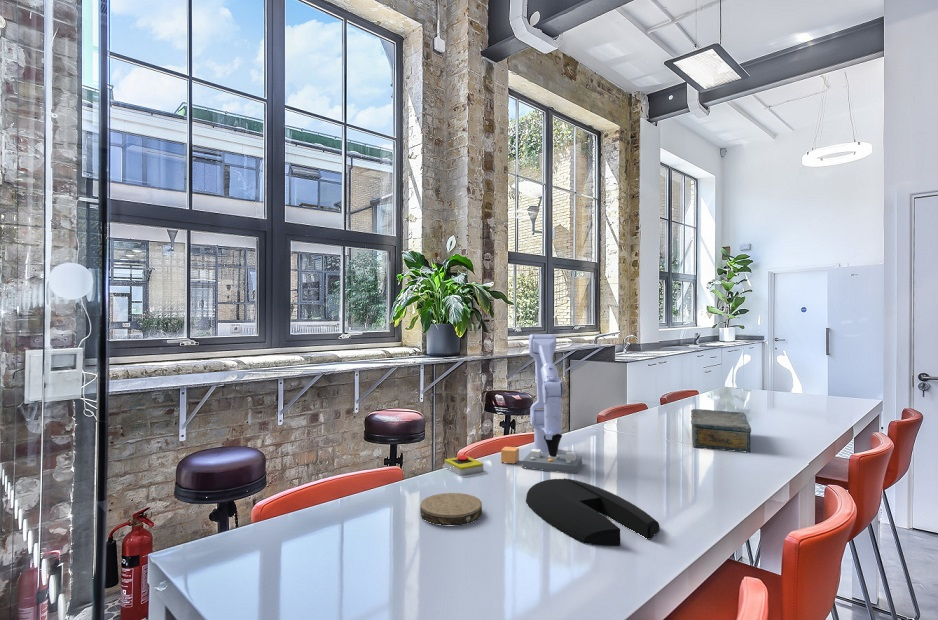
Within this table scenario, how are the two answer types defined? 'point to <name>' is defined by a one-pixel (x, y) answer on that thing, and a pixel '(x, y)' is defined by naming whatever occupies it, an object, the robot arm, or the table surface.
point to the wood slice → (451, 509)
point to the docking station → (587, 511)
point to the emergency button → (464, 466)
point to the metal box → (720, 430)
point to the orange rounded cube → (510, 454)
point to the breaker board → (553, 461)
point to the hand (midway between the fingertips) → (553, 456)
